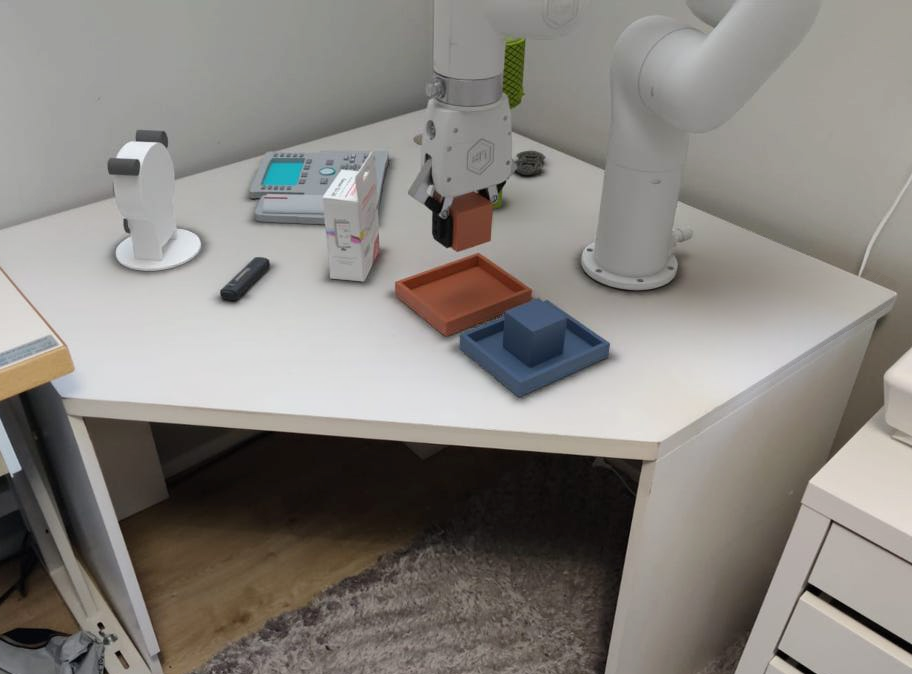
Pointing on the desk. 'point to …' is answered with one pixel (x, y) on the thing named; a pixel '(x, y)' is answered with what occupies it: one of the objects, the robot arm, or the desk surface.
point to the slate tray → (522, 380)
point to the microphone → (513, 79)
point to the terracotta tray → (462, 293)
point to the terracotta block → (470, 220)
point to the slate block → (534, 332)
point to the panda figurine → (149, 205)
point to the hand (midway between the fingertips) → (462, 235)
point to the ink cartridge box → (352, 222)
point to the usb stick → (244, 278)
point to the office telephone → (305, 182)
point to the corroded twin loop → (529, 162)
